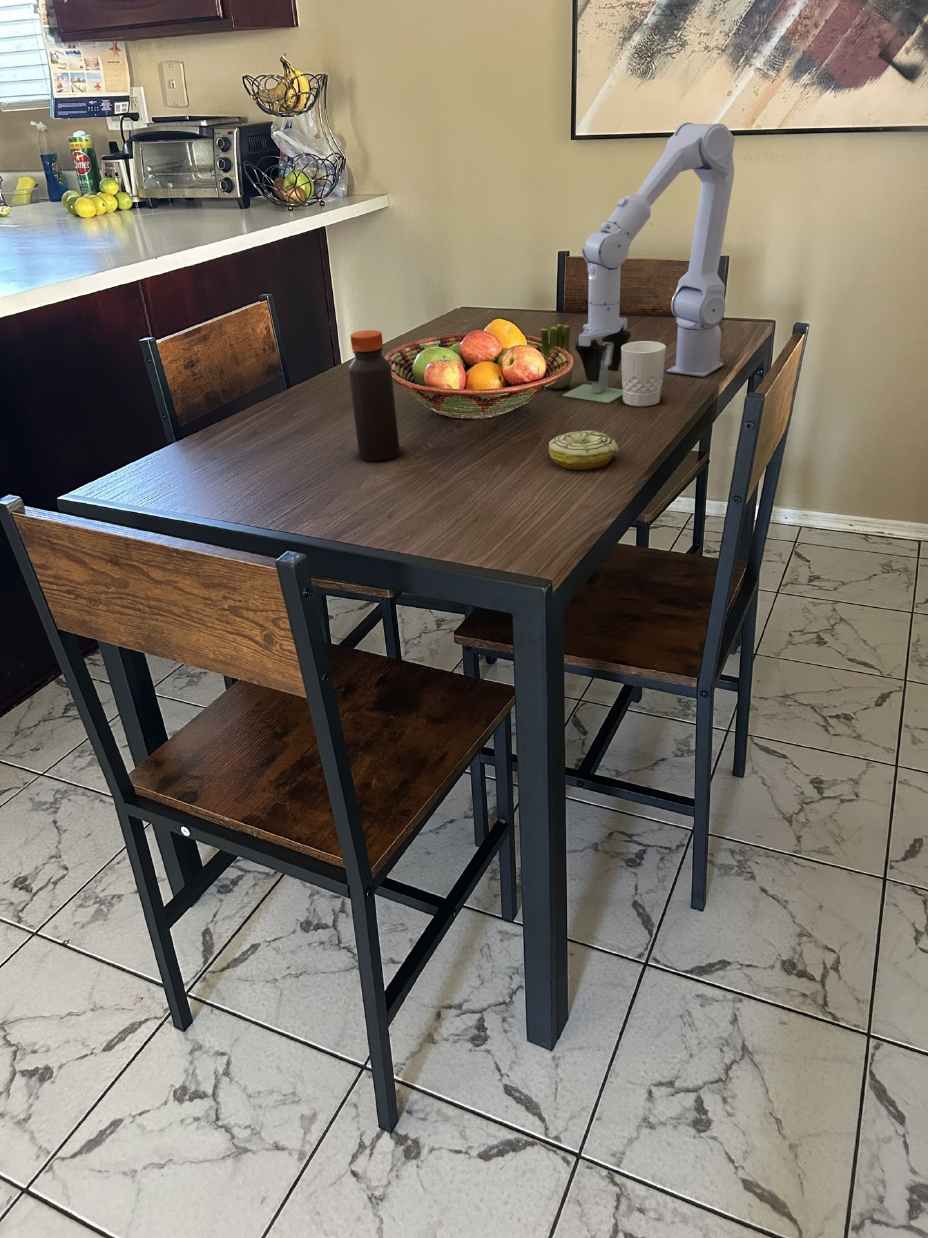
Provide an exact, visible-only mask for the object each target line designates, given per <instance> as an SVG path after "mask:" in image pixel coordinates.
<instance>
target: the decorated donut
mask: <svg viewBox="0 0 928 1238" xmlns="http://www.w3.org/2000/svg"><path fill="white" fill-rule="evenodd" d="M548 445H549V446H548V453H549V456H550V459H551V460H552V461H553V462H554V463H555V464H556V465H558V466H560V467H562V468H566V469H568V470H576V471H577V470H578V471H581V470H582V471H587V470H591V469H597V468H601V467H603V466H605V465H607V464H608V463H609V462H610V461H611V460H612V458H613V457H614V456H615V454H617V453H618V452H619V446H618V444H617V442H616V441H615V440H614V438H613V437H611V436H609V435H607V434H605V433H603V432H600V431H597V430H590V429H589V430H578V431H571V432H570V431H569V432H566V433H563V434H561V435H557V436H555V437H554V438H553V439H551V440H550V441H549V442H548Z"/></svg>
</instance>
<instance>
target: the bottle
mask: <svg viewBox="0 0 928 1238" xmlns="http://www.w3.org/2000/svg"><path fill="white" fill-rule="evenodd" d="M350 343H351V350H352V353H353V354H354V359H353V360H352V361H351V363H349V366H348V378H349V384H350V391H351V401H352V409H353V417H354V425H355V433H356V441H357V451H358V456H359V457H360V459H362V460H363V461H366V462H374V463H375V462H385V461H389V460H392V459H394V458H397V456H399V454H400V442H399V441H400V440H399V432H398V423H397V422H398V421H397V413H396V403H395V394H394V393H395V391H394V383H393V381H394V380H393V372H392V365H391V363H390V361H389V360H387V359H386V358H385V356H383V350H384V343H383V334H382V332H381V331H380V330H376V329H375V330H374V329H367V330H359V331H355V332H352V333H351V334H350Z"/></svg>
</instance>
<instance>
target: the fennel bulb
mask: <svg viewBox="0 0 928 1238" xmlns="http://www.w3.org/2000/svg"><path fill="white" fill-rule="evenodd" d="M570 333H571V325H568V324H563V325H562V324H560V323H559V324H556V325H555V326H552V327H550V329H549V332H548V329H547V328H542V329H540V336H541V337H540V340H541V354H542V353H543V354H544V356H546V358H549V357H550V356H551V355H552V353H553V352H554V351H555V347H554V346H557V347H560V348H561V349H564V350H565V351H567V352H568V353H569V354H570V355H571V350H570V335H571V334H570ZM572 375H573V370H572V371H570V373H568V374H566V375H565V376H563V377H562V378H560V380H558V381H557V382H556V383H554V384H552V385H550V386H548V387H546V388H547V389H551V390H564V389H566V388H568V387H569V385H570V383H571V381H572Z"/></svg>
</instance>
